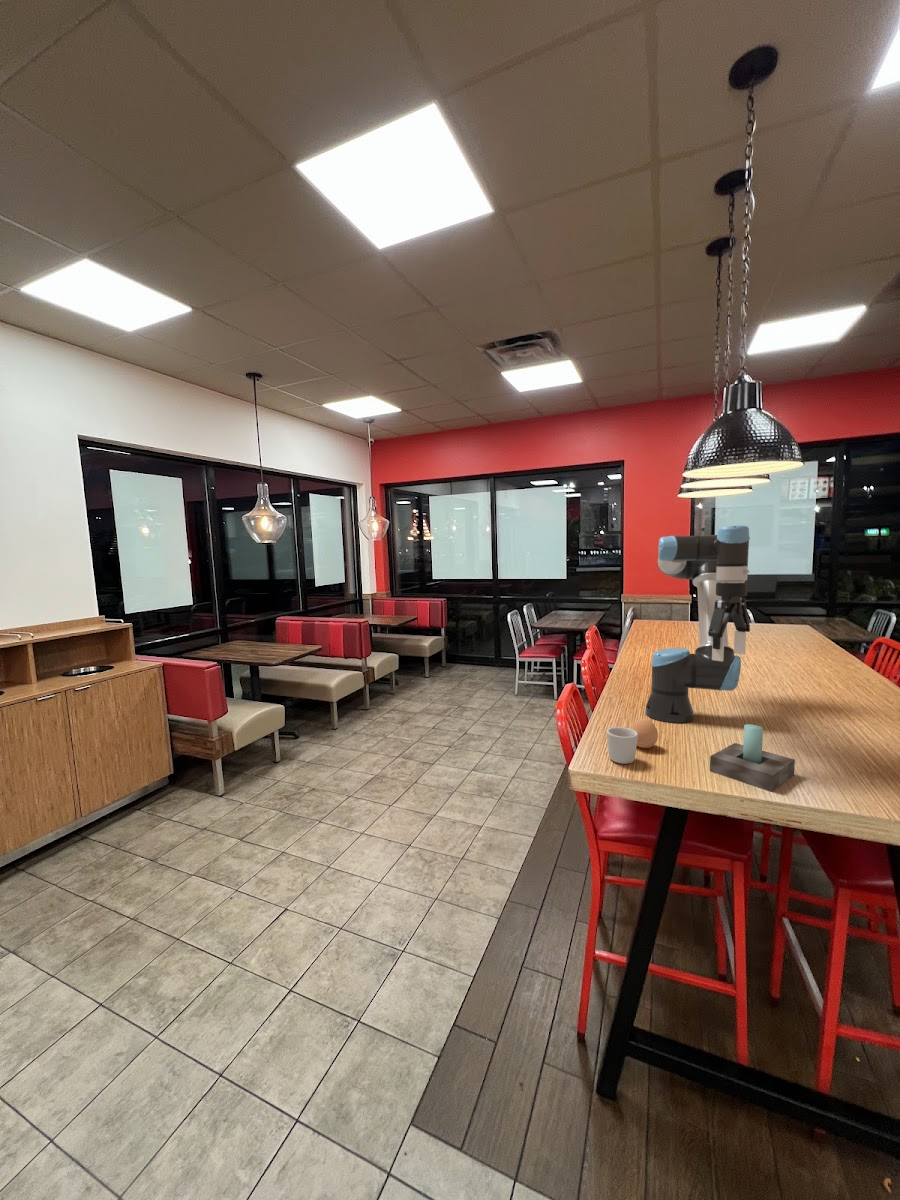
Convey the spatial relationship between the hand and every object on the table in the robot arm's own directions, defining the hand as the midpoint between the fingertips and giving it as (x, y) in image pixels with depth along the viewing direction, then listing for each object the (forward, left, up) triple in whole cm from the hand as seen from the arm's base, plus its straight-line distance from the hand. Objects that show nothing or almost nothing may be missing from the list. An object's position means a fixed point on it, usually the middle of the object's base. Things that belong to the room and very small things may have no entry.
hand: (728, 657), depth 133 cm
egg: (-15, -17, -27) cm, 35 cm away
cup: (-15, -29, -27) cm, 42 cm away
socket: (+11, -11, -27) cm, 31 cm away
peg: (+11, -11, -27) cm, 31 cm away
